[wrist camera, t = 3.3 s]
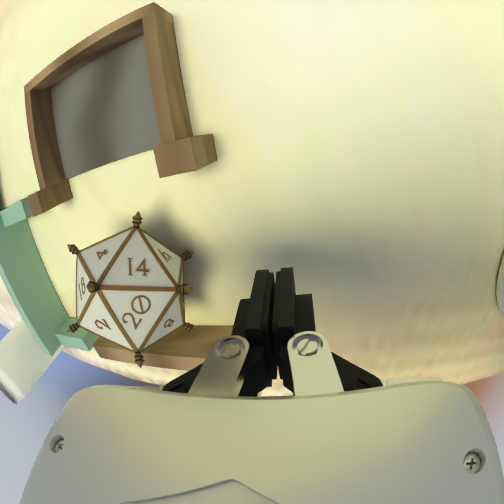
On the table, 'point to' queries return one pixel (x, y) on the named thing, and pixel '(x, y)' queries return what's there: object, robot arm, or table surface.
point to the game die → (130, 290)
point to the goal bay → (34, 285)
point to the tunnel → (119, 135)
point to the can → (21, 362)
